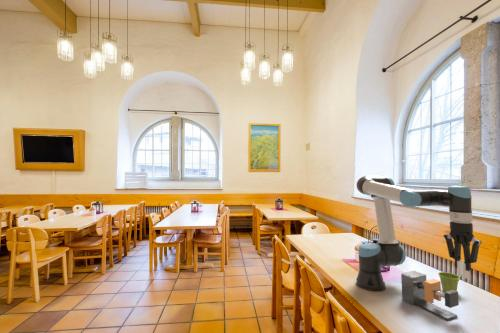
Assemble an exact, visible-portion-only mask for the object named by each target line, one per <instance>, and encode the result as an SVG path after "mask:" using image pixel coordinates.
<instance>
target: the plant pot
mask: <svg viewBox="0 0 500 333" xmlns="http://www.w3.org/2000/svg"><path fill="white" fill-rule="evenodd" d="M437 275H438V276H439V278H440V280H439V281H440V282H441V291H443V292H444V293H445V292H446V291H450V290H455V291H458V285H459V281H460V279H461V277H459V276H458V274H454V273H451V272H446V271H439V272H438V273H437Z"/></svg>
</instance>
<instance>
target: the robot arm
mask: <svg viewBox="0 0 500 333" xmlns="http://www.w3.org/2000/svg"><path fill="white" fill-rule="evenodd" d="M356 190H357V191H358V192H359V193H361V194H363V195H366V196H370V199H372V200H373V202H374V207H375V208H374V209H375V214H376V223H377V229H378V230H377V231H378V238H379V239H378V240H377V241H376V243H374V242H366V243H362V244H360V245H359V247H358V273H357V277H356V281H355V282H356V285H357V286H358V287H360V288H362V289H364V290H367V291H371V292H382V291H384V290H385V289H386V283H385V281H384V278H383V275H382V267H392V266H398V265H399V266H400V265H402V264H403V263H404V262H405V261H406V258H407V256H406V255H407V254H406V253H407V252H406V251H405V248H404V247H403V246H402V245H400V242H399V241H398V240H397V239H396V234H395V225H394V219H393V213H392V212H393V211H392V206H391V201H393V202H399V203H400V204H402V206H405V207H409V208H410V207H411V208H416V207H434V206H439V207H440V206H441V207H448V212H449V214H448V215H449V220H450V221H449V230H450V231H449V233H448V234H443V238H444V239H445V243H446V247H447V251H448V256H449V257H450V258H452V259H453V260H454V267H455V268H456V269H457V276H459V277H460V278H461V277H462V278H463V279H465V280H467V279H469V278H470V272H471V270H472V264H475V263H477V261H478V256H479V255H478V254H479V250H480V246H481V244H482V243H483V241H482V240H479V239H477V238H476V237H475V236H474V233H473V232H474V229H473V227H474V225H473V223H472V222H473V211H472V191H471V190H472V189H471V188H470V187H469V186H466V185H465V186H464V185H462V186H461V185H449V186H448V189H436V188H434V189H433V188H428V189H412V188H408V187H402V186H397V185H396V184H395V182H394V180H393V179H392V178H391V177H390V176H388V175H381V174H380V175H364V176H362V177H360V178H359V179H358V180H357V182H356ZM471 243H472V245H471ZM470 246H471V248H470ZM462 251H463V259H464V260H462V257H461V256H462V255H461V254H462Z"/></svg>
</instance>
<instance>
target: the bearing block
mask: <svg viewBox="0 0 500 333" xmlns="http://www.w3.org/2000/svg"><path fill="white" fill-rule="evenodd" d="M400 274H401V276H400V278H401V300H402V302H403V301H404V302H405V303H407V304H409V305H411V306H414V307H415V306H417V307H419V308H420V309H422V310H424V311H427V312H429V313H431V314H432V315H435V316H436V317H439V318H441V319H443V320H445V321H446V322H449V321H451V320H454V319H456V318H458V314H456V313H453V312H451V311H449V310H447V309H444V308H443V307H440V306H438V305H436V304H434V303H430V302H427V301H425V290H424V289H422V288H419V284H423V285H424V281H427V274H425V273H421V272H420V271H416V270H413V271H407V272H402V273H400Z"/></svg>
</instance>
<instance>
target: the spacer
mask: <svg viewBox="0 0 500 333" xmlns="http://www.w3.org/2000/svg"><path fill="white" fill-rule="evenodd" d="M424 289H425V301H427V302H430V303H432V304H434V301H435V300H436V301H437V302H441V301H442V297H441V296H438V295H436V294H434V293H433V291H434V290H438V291H440V292H442V285H441V280H438V279H435V278H432V279H428V280H427V279H426V281H424Z"/></svg>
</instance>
